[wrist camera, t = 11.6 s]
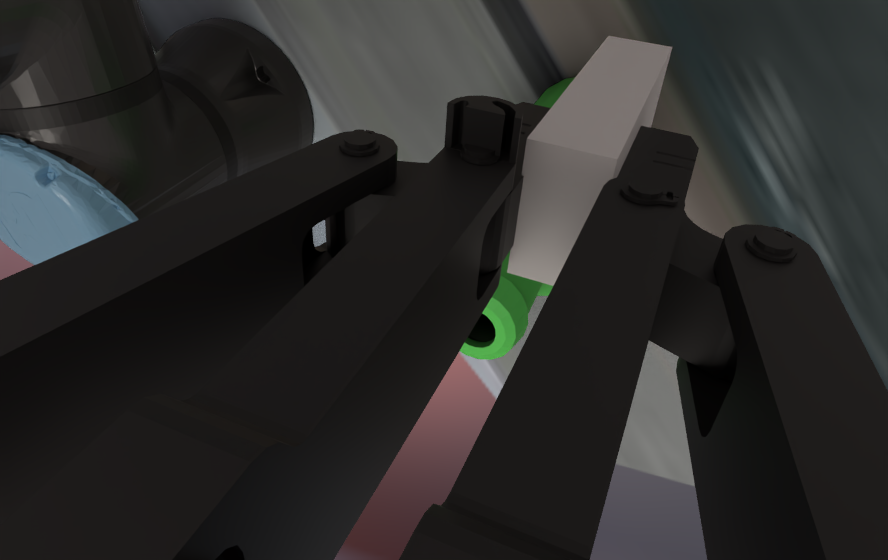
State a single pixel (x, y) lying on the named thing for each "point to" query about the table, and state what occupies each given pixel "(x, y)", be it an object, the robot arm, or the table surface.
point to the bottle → (509, 292)
